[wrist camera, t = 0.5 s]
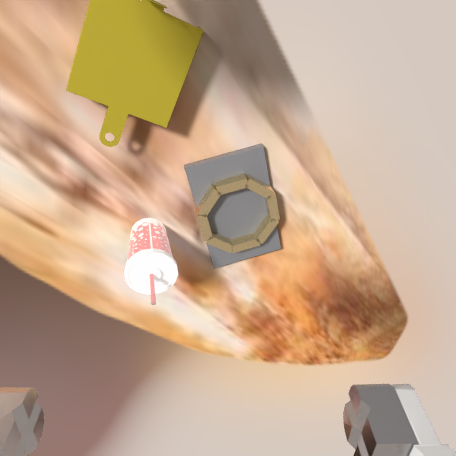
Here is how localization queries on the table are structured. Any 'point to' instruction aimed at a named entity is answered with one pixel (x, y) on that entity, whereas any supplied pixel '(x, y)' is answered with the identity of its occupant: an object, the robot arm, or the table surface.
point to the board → (234, 201)
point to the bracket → (132, 61)
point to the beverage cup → (150, 259)
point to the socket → (230, 186)
